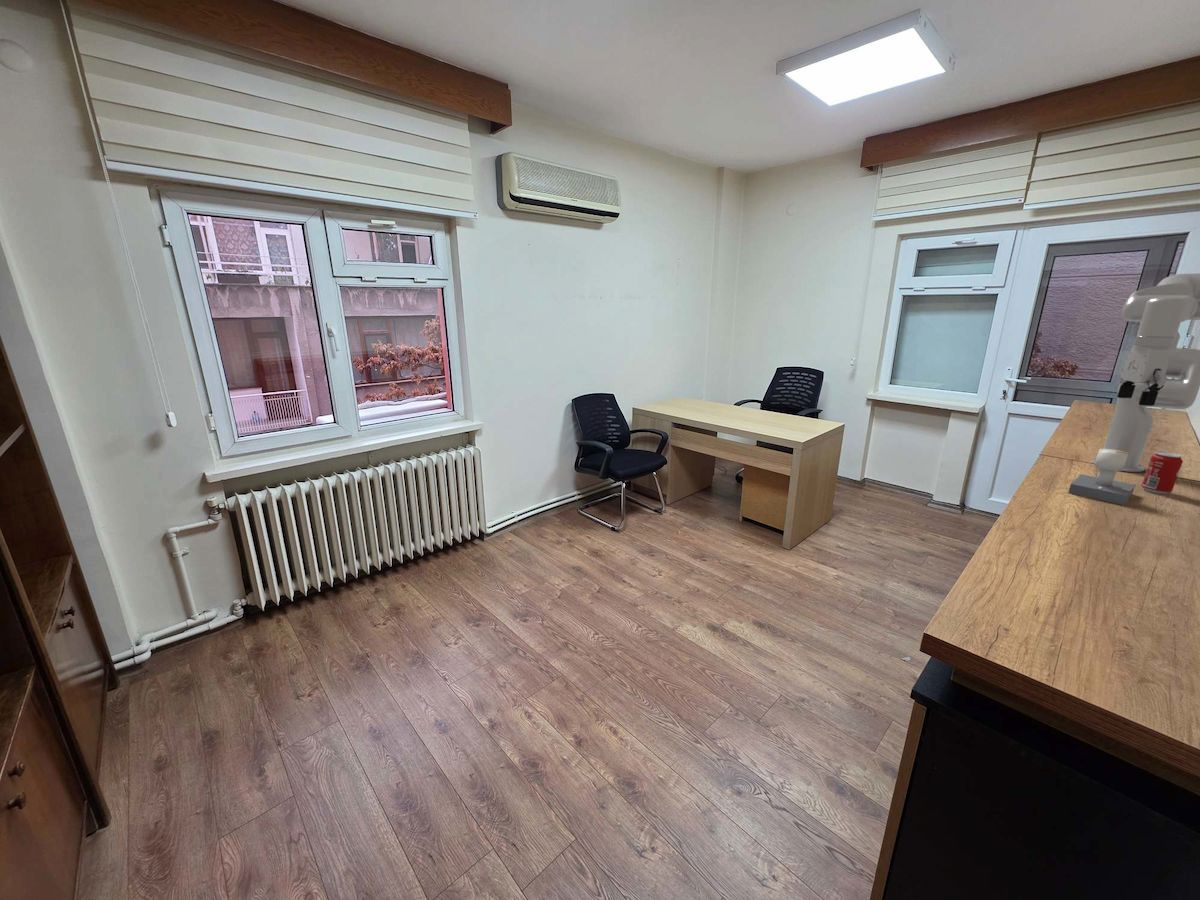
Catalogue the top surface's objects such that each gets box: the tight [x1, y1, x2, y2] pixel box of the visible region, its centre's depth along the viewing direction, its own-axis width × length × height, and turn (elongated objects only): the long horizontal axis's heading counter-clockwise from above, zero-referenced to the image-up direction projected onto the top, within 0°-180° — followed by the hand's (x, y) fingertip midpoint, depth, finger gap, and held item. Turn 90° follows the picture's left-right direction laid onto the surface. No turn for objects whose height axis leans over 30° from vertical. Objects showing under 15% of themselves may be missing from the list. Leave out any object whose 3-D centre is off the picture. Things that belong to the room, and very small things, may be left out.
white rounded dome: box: [1094, 448, 1128, 472], centre depth 143 cm, size 6×6×5 cm
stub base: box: [1068, 468, 1136, 506], centre depth 145 cm, size 14×12×8 cm
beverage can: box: [1141, 451, 1184, 495], centre depth 146 cm, size 6×6×12 cm
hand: (1134, 401), depth 142 cm, fingers open, 9 cm apart
